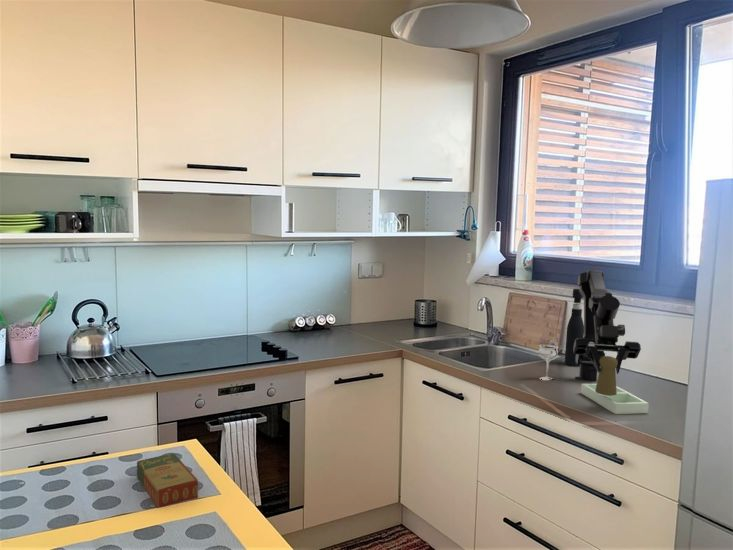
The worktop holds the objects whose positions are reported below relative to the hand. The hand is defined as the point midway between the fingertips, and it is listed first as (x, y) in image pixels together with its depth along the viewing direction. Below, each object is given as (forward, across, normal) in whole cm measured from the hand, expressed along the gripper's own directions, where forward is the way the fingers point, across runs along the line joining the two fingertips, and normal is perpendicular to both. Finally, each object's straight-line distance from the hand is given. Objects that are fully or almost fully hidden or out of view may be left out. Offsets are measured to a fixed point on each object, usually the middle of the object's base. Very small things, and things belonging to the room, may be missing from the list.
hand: (608, 372), depth 178 cm
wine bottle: (-30, -2, +49) cm, 58 cm away
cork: (+4, 0, +6) cm, 7 cm away
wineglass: (-13, -14, +31) cm, 37 cm away
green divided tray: (+4, +3, +13) cm, 14 cm away
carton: (+63, -101, -46) cm, 127 cm away
